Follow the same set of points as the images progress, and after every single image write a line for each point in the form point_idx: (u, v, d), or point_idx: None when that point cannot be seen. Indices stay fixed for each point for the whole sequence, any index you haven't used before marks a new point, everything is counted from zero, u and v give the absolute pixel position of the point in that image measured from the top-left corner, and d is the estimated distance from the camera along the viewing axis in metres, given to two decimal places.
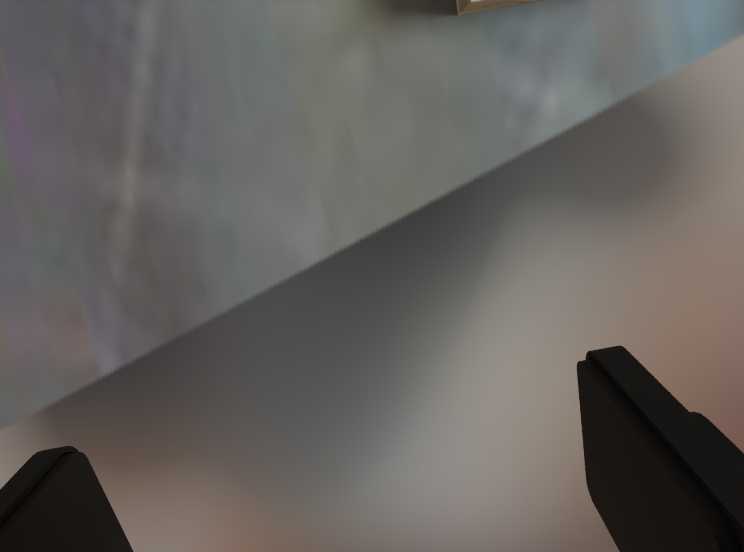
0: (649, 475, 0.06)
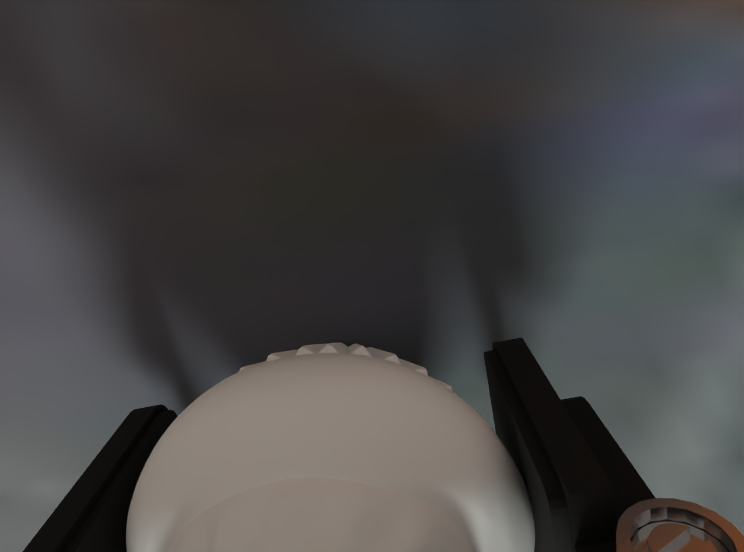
0: (519, 448, 0.07)
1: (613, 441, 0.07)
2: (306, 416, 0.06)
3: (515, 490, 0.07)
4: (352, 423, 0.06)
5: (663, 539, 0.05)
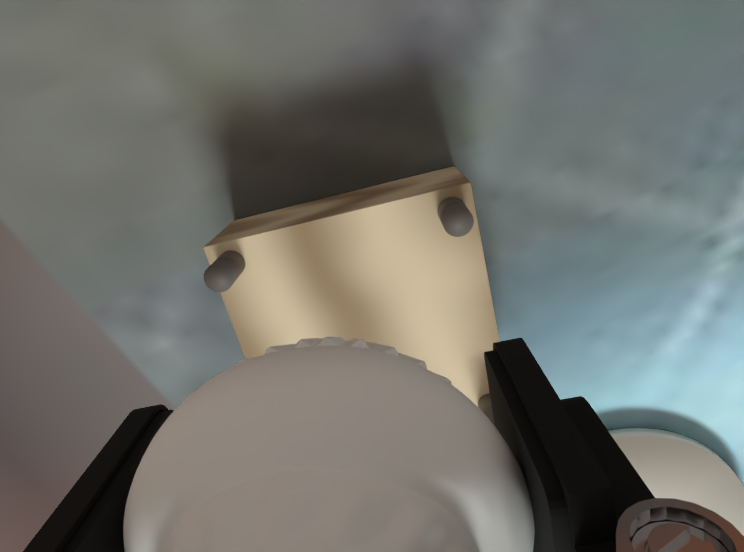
0: (519, 448, 0.07)
1: (613, 441, 0.07)
2: (305, 408, 0.06)
3: (515, 483, 0.07)
4: (351, 415, 0.06)
5: (663, 539, 0.05)
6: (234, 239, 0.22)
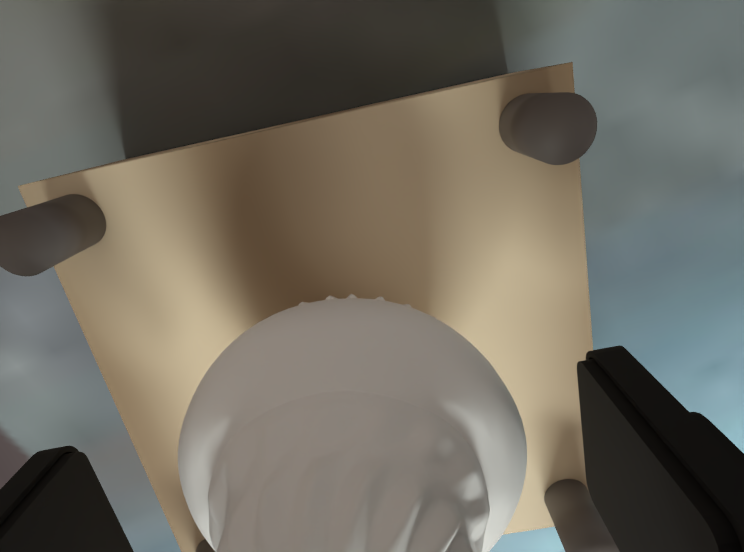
0: (649, 475, 0.06)
1: None
2: (339, 342, 0.07)
3: (511, 414, 0.08)
4: (377, 349, 0.07)
5: None
6: (82, 171, 0.11)
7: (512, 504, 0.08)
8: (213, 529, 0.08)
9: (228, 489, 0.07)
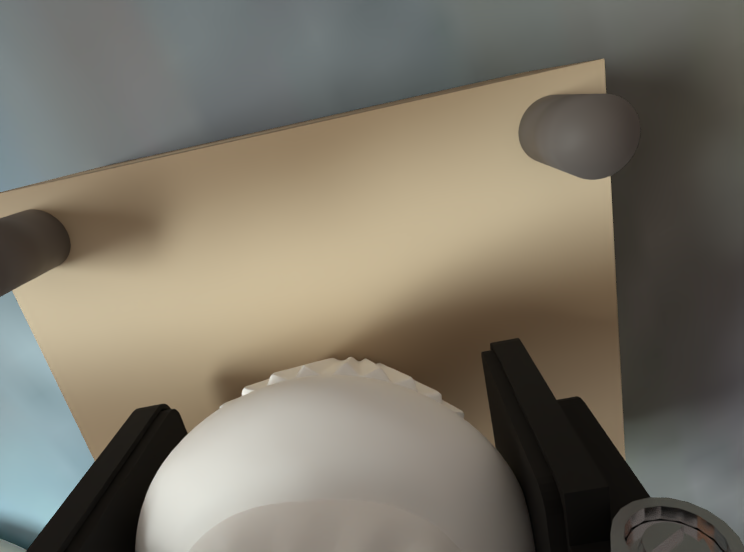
0: (516, 448, 0.07)
1: (609, 441, 0.07)
2: None
3: None
4: None
5: (657, 538, 0.05)
6: None
7: None
8: (322, 535, 0.06)
9: None
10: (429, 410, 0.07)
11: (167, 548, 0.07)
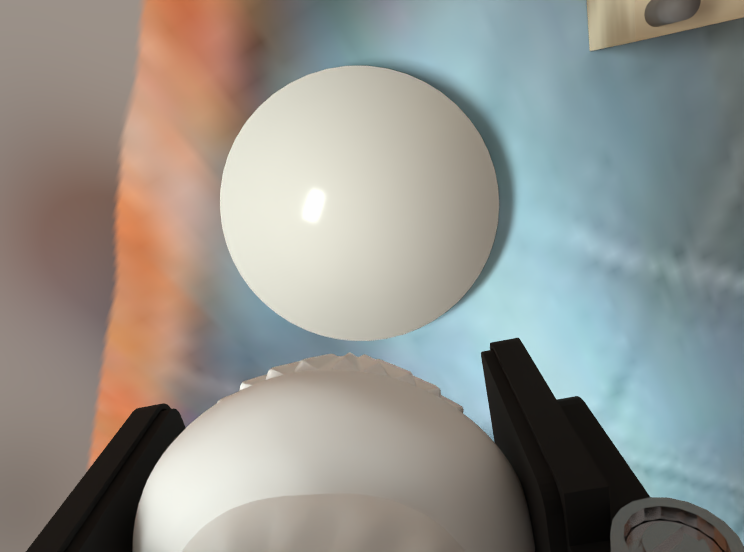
0: (515, 448, 0.07)
1: (609, 441, 0.07)
2: None
3: None
4: None
5: (657, 538, 0.05)
6: None
7: None
8: (320, 528, 0.06)
9: None
10: (428, 404, 0.07)
11: (164, 543, 0.07)
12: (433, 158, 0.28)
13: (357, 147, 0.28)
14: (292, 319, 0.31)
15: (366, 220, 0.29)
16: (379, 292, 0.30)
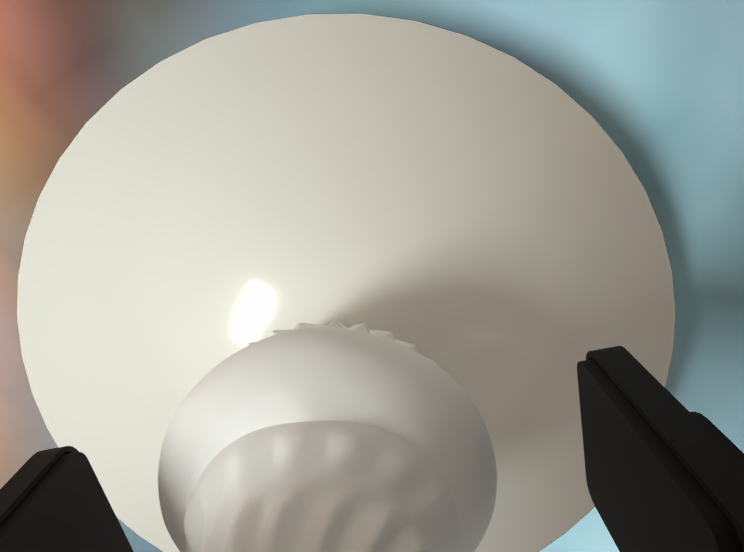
0: (649, 475, 0.06)
1: None
2: (486, 507, 0.08)
3: None
4: (479, 534, 0.09)
5: None
6: None
7: None
8: (314, 445, 0.07)
9: (378, 473, 0.07)
10: (403, 353, 0.08)
11: (187, 468, 0.08)
12: (525, 247, 0.11)
13: (340, 221, 0.11)
14: None
15: None
16: None
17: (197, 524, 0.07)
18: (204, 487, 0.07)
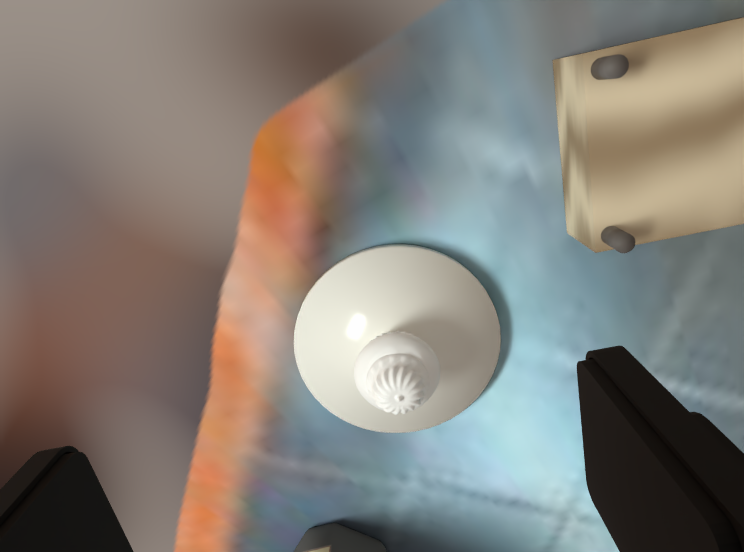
0: (649, 475, 0.06)
1: None
2: (437, 376, 0.35)
3: (415, 408, 0.36)
4: (435, 384, 0.35)
5: None
6: None
7: None
8: (398, 358, 0.33)
9: (412, 364, 0.33)
10: (416, 339, 0.35)
11: (366, 365, 0.34)
12: (452, 308, 0.38)
13: (396, 300, 0.38)
14: (344, 417, 0.41)
15: None
16: None
17: (371, 376, 0.34)
18: (373, 368, 0.34)
